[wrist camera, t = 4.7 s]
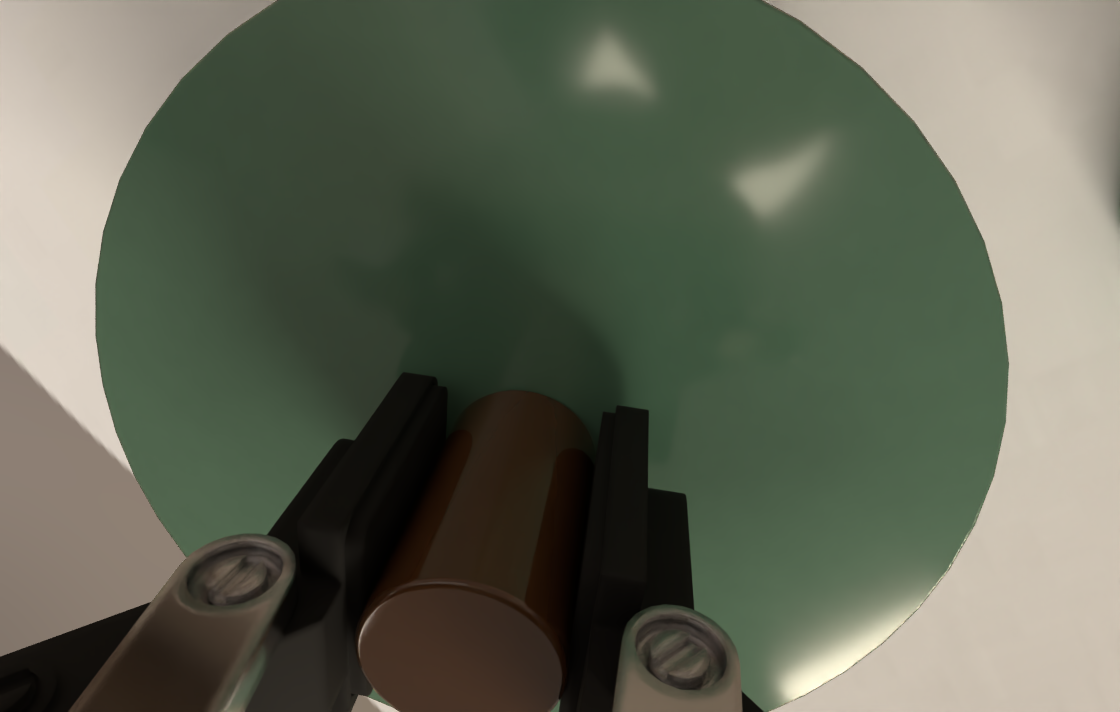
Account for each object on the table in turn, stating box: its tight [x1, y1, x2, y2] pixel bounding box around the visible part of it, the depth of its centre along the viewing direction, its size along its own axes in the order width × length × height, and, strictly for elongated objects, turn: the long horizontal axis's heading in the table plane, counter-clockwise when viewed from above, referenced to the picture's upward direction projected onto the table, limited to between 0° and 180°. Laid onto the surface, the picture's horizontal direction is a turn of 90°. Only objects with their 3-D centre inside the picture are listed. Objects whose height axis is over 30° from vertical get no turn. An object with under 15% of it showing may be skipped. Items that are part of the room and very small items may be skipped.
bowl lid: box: [95, 0, 1009, 712], centre depth 11 cm, size 16×16×6 cm
